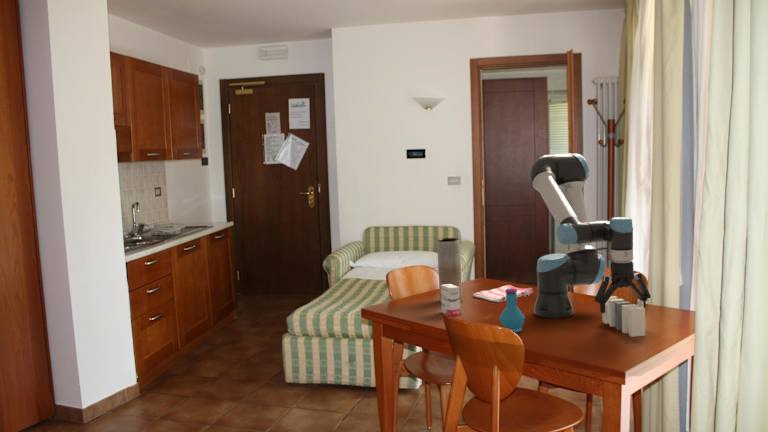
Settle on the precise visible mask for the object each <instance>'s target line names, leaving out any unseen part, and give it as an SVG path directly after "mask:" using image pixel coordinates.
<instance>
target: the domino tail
mask: <svg viewBox="0 0 768 432" xmlns="http://www.w3.org/2000/svg"><path fill="white" fill-rule="evenodd" d="M628 336H629V337H630V338H633V337H643V336H646V307H645V308H644V307H635V308H629V333H628Z"/></svg>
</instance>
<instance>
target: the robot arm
mask: <svg viewBox="0 0 768 432" xmlns="http://www.w3.org/2000/svg"><path fill="white" fill-rule="evenodd" d="M589 171H590V170H589V164H588V162H587V160H586V158H585V157H584V156H583V155H582V154H579V153H562V154H545V155H542V156H540V157H538V158H537V159H536V160H535V161H534V162H533V163H532V165H531V167H530V168H529V181H530V183H531V186H532V187H533V189H534V190H535V191H538V193H539V194H540V195H541V198H542V199H543V202H544V204H545V205H546V206H547V208H548V210H549V212H550V213H551V216H552V217H553V218H554V221H555V222H556V224H557V228H556V237H557V240H558V242H559V244H562V245H569V250H568V251H567V252H566V253H559V252H558V253H549V254H545V255H542V256H540V257H539V258H538V259H537V262H536V263H537V264H536V277H537V278H536V280H537V296H536V300H535V304H534V307H533V314H534V315H535V316H537V317H541V318H549V319H559V318H562V319H563V318H567V317H571V316H573V314H574V308H573V305H572V301H571V299H570V295H569V287H574V286H576V287H577V286H585V285H588V286H590V285H594V284H599V283H600V282H601V283H600V287H599V288H598V290H597V293H596V295H595V298H594V302H596V303H597V304H599V311H600V313H602V314H601V315H602V318H601V319H602V322H603V321H604V322H606V323H607V322H608V304H606V302H607V301H608V299H609V298H610V297H612V295H613V294H614V293H615V292H616V291H617V290H618V289H621V288H628V287H629V288H630V289H631V291H632V292H634V294H635V295H636V297H638V299H637V304H636V305H638V307H644V308H645V309H646V302H647V301H648V299H651V294H650V292H649V289H648V288H647V286H646V284H645V282H644V280H643V275H642V273H639V272H635V273H634V262H633V260H634V227H633V226H634V225H633V220H632V218H630V217H624V216H617V217H611V218H610V219H609V220H607V219H598V220H595V221H588V215H587V210H586V204H585V197H584V193H583V187H584V186H585V184H586V181H587V180H588V178H589V173H590V172H589ZM600 242H601V243H602V242H603V243H604V242H608V243H610V246H609V247H610V249H609V250H610V272H611V273H610V274H611V275H605V274H606V269H607V267H606V260H605V258H604V256H603V255H602V254H600V253H598V251H597V248H596V247H594V246H593V245H592V243H600ZM634 279H635V281H636V283H637V285H638V287H639V288H638V287H637V286H636V284H635V283H634V282H633V280H634ZM610 282H611V283H610ZM609 283H610V284H609ZM608 286H609V287H608Z"/></svg>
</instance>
